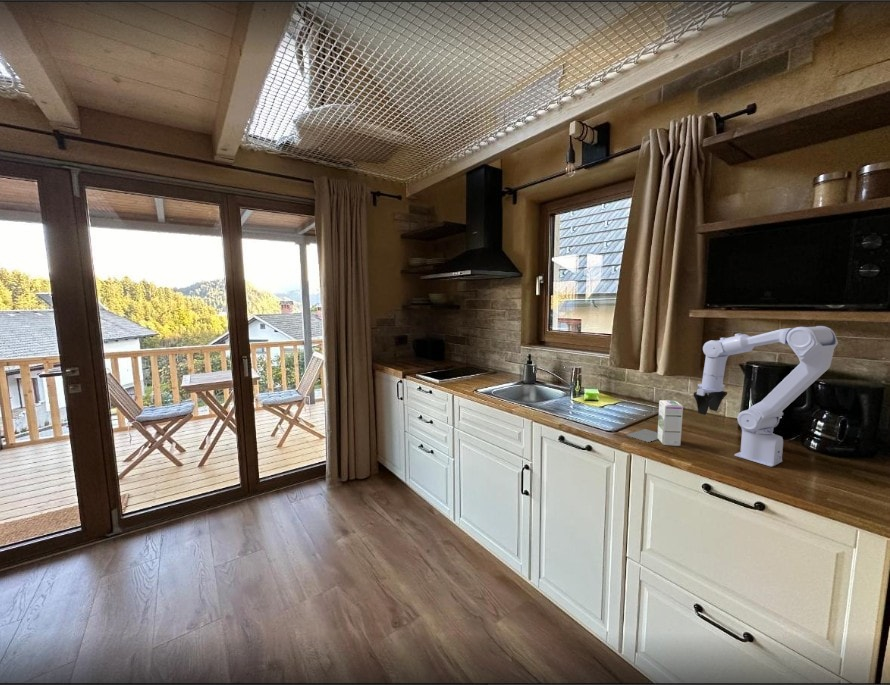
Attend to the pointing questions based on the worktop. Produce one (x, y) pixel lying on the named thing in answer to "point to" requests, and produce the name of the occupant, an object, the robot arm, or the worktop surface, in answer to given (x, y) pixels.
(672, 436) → the syrup box
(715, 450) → the worktop surface
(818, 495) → the worktop surface
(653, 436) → the mat
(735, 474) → the worktop surface
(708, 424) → the worktop surface
